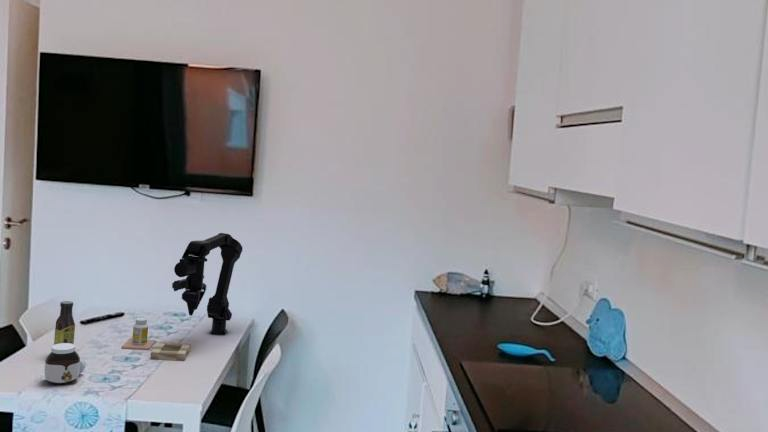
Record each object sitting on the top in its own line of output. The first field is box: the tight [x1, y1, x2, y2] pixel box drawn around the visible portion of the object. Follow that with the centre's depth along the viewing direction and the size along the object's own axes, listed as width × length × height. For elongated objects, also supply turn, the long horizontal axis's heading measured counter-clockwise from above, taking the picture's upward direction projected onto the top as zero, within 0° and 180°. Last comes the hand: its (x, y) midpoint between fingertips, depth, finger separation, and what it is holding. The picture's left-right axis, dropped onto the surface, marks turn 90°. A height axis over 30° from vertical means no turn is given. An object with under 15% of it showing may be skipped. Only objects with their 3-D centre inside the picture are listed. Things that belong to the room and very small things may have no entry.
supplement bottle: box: [131, 317, 149, 345], centre depth 241 cm, size 5×5×10 cm
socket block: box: [149, 341, 192, 362], centre depth 235 cm, size 12×12×2 cm
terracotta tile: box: [121, 338, 157, 351], centre depth 242 cm, size 10×10×1 cm
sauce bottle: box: [53, 300, 76, 345], centre depth 221 cm, size 7×6×20 cm
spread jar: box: [44, 343, 87, 386], centre depth 202 cm, size 12×11×12 cm
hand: (192, 312), depth 247 cm, fingers open, 9 cm apart
